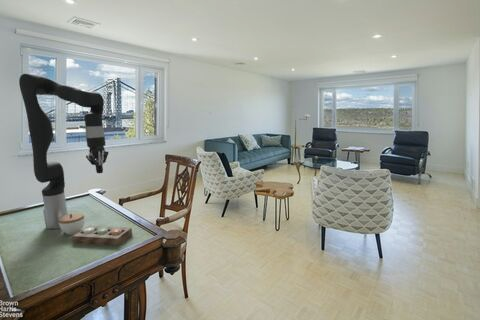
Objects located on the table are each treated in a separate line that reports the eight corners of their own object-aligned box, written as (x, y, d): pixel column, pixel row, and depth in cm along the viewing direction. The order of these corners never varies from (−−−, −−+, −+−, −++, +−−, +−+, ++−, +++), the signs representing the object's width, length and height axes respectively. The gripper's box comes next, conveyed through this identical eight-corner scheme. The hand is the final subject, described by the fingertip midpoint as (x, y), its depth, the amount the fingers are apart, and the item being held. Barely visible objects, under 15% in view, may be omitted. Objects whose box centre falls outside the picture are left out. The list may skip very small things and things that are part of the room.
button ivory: (81, 236, 124) (81, 231, 123) (88, 232, 128) (87, 227, 127) (90, 236, 123) (89, 231, 122) (97, 232, 127) (96, 227, 127)
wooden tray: (73, 243, 121) (72, 235, 120) (90, 232, 132) (89, 225, 131) (118, 245, 117) (117, 238, 117) (132, 234, 128) (131, 227, 127)
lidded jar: (59, 238, 126) (56, 219, 124) (61, 230, 135) (58, 212, 133) (85, 233, 130) (83, 215, 129) (86, 225, 140) (83, 208, 138)
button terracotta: (109, 237, 121) (108, 232, 121) (115, 233, 125) (115, 228, 125) (118, 238, 120) (117, 233, 120) (124, 234, 125) (123, 229, 124)
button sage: (95, 237, 122) (94, 232, 122) (101, 232, 127) (101, 228, 126) (104, 237, 122) (103, 232, 121) (110, 233, 126) (109, 228, 125)
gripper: (97, 135, 132) (102, 169, 135) (77, 137, 119) (82, 176, 122) (111, 134, 130) (115, 170, 134) (92, 137, 118) (97, 176, 121)
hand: (99, 172), depth 128 cm, fingers closed
